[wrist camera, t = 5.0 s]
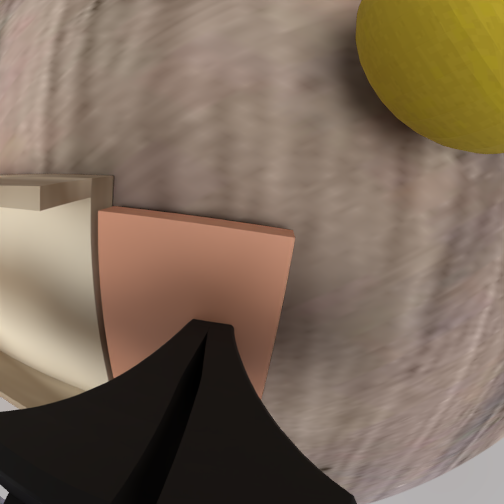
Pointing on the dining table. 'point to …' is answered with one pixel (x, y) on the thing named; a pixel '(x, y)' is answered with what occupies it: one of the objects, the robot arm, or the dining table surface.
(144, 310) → the panel
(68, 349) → the cream shallow tray
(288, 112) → the dining table surface
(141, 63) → the dining table surface
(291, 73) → the dining table surface
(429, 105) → the lemon
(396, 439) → the dining table surface
